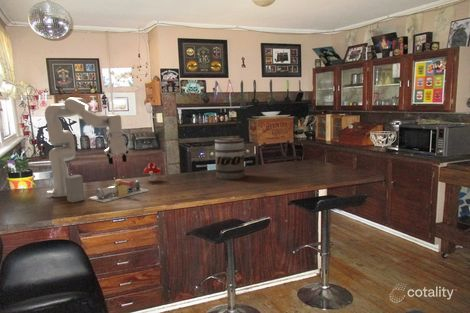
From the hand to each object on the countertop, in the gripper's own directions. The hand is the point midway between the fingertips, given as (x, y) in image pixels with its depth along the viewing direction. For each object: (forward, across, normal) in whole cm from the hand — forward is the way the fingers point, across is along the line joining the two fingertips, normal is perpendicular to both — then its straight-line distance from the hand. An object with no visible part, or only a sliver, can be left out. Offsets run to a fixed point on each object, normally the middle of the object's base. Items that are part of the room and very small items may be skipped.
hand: (117, 162), depth 222 cm
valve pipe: (+22, +6, +9) cm, 25 cm away
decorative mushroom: (+23, +46, +24) cm, 56 cm away
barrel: (+23, +89, -18) cm, 93 cm away
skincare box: (+23, -18, +20) cm, 35 cm away
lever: (+15, +6, +2) cm, 16 cm away
